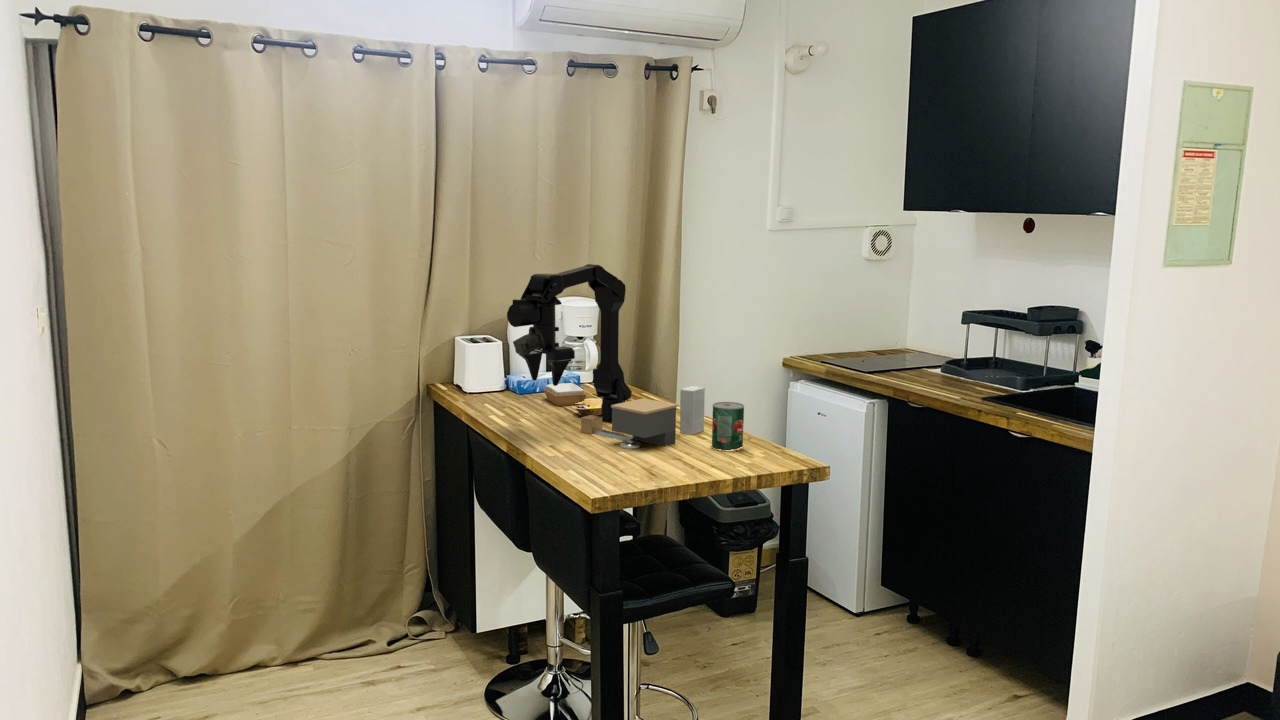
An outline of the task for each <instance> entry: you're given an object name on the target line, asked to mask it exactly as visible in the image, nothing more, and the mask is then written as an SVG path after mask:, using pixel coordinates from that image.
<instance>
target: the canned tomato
mask: <svg viewBox="0 0 1280 720" xmlns="http://www.w3.org/2000/svg"><path fill="white" fill-rule="evenodd" d="M744 418H745V405H744V404H743V403H741V402H734V401H720V402H719V401H717V402H714V403H712V420H711V421H712V423H711V425H712V429H711V435H712V436H711V448H712V447H713V448H715V449H721V450H731V449H737V448H740V447H742V446H743V445H744ZM743 447H744V446H743ZM713 448H712V449H713ZM715 449H714V450H715Z"/></svg>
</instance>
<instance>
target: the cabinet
mask: <svg viewBox="0 0 1280 720" xmlns="http://www.w3.org/2000/svg"><path fill="white" fill-rule="evenodd" d="M611 408H612V422H611V432H615V433H620V434H624V435H629V436H633V437H636V441H640V442H644V443H649V444H653V445H657V446H662V447H663V446H664V447H667V446H668V447H669V446H670V445H675V444H676V434H677V433H676V429H677V408H678V404H675V403H670V402H669V403H668V402H664V401H659V400H654V399H650V398H649V399H648V398H639V399H634V400H629V401H625V402H624V403H619V404H614V405H611Z"/></svg>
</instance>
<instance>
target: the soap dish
mask: <svg viewBox="0 0 1280 720" xmlns="http://www.w3.org/2000/svg"><path fill="white" fill-rule="evenodd" d="M545 387H546V388H543V391H544V394H545V396H546V399H547V401H549V402H550V403H552V404H554V405H555V406H556V407H564V406H565V407H566V405H567V406H574V405H573V404H575V403H578V402H582V401H584V402H585V399H586V397H587V396H588V395H587V393H585V392H584V389H583V388H581V387H580V386H578V385H577V384H575V383H573V382H564V383H558V385H557V386H554V385H553V383H551V384H546V385H545Z"/></svg>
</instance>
